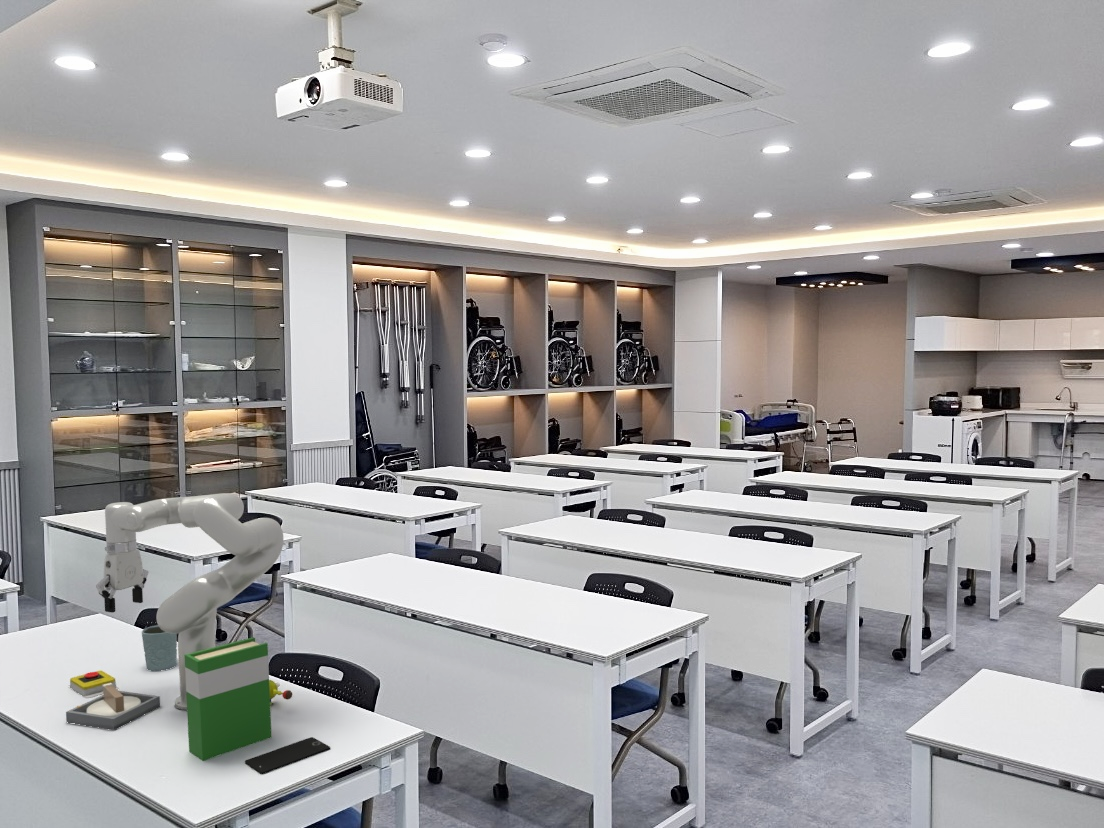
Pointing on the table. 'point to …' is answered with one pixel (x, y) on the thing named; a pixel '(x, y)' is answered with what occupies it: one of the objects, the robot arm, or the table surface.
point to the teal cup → (159, 648)
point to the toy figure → (274, 691)
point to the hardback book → (227, 697)
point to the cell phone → (286, 755)
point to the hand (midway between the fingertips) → (124, 607)
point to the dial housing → (112, 723)
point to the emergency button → (91, 683)
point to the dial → (113, 702)
